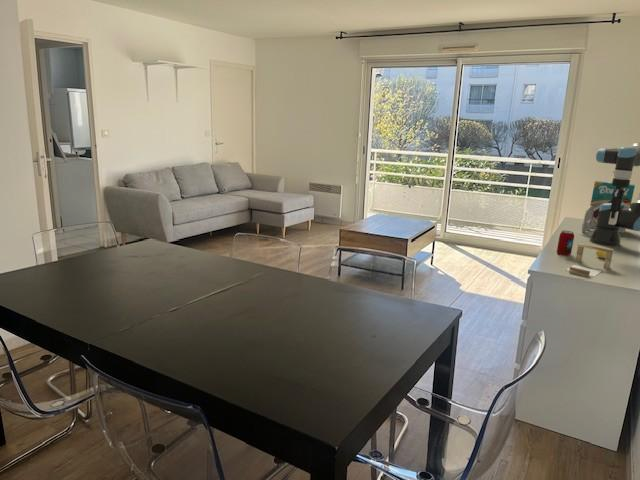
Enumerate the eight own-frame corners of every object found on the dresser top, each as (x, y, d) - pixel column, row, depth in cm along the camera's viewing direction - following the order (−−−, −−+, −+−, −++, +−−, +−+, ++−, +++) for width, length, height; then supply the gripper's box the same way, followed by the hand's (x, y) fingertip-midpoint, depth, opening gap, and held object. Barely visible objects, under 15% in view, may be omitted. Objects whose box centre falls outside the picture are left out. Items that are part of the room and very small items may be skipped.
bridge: (576, 260, 240) (580, 242, 238) (609, 267, 231) (613, 249, 229) (574, 261, 238) (578, 243, 236) (607, 269, 229) (611, 250, 226)
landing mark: (573, 265, 232) (573, 264, 232) (601, 271, 225) (601, 271, 225) (565, 270, 224) (565, 269, 224) (594, 277, 216) (594, 276, 216)
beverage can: (570, 256, 246) (574, 234, 243) (555, 254, 250) (559, 231, 246) (571, 254, 252) (575, 231, 249) (557, 251, 255) (561, 229, 252)
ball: (596, 255, 251) (598, 245, 250) (608, 258, 247) (610, 247, 246) (593, 257, 247) (595, 247, 246) (605, 260, 243) (608, 249, 242)
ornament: (590, 229, 311) (595, 204, 307) (613, 234, 303) (618, 207, 298) (579, 234, 296) (584, 208, 291) (603, 239, 287) (609, 211, 283)
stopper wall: (569, 271, 222) (570, 266, 221) (589, 276, 217) (590, 270, 216) (568, 272, 221) (569, 267, 220) (588, 277, 216) (589, 271, 215)
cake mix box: (586, 227, 318) (594, 181, 310) (586, 225, 323) (595, 180, 315) (624, 232, 307) (634, 185, 299) (624, 230, 312) (634, 184, 304)
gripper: (616, 176, 252) (607, 220, 258) (609, 178, 240) (600, 224, 247) (633, 178, 247) (623, 223, 253) (626, 180, 236) (616, 227, 242)
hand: (612, 223), depth 250 cm, fingers open, 3 cm apart
